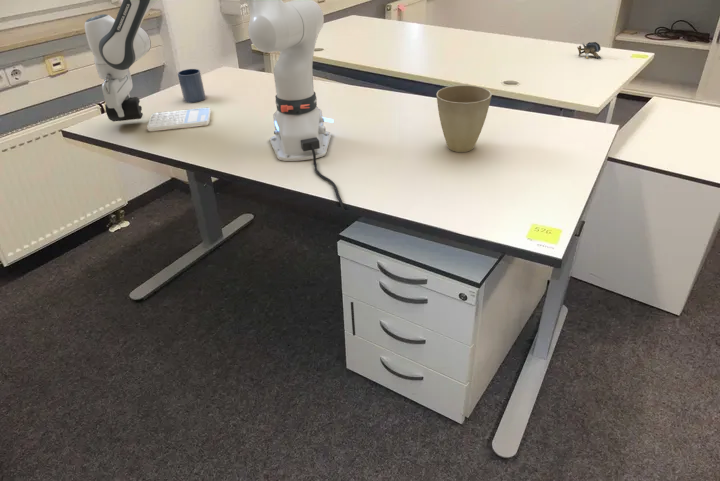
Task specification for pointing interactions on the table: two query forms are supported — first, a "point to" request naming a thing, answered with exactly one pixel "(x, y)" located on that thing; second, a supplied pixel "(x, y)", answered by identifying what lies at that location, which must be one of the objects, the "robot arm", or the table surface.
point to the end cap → (126, 110)
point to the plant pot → (462, 114)
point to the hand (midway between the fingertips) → (125, 111)
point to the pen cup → (191, 85)
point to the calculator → (179, 119)
